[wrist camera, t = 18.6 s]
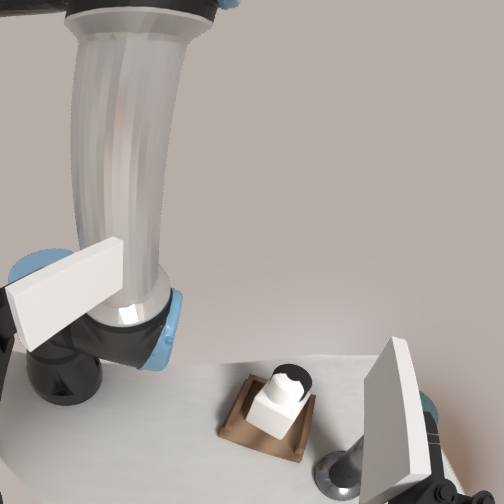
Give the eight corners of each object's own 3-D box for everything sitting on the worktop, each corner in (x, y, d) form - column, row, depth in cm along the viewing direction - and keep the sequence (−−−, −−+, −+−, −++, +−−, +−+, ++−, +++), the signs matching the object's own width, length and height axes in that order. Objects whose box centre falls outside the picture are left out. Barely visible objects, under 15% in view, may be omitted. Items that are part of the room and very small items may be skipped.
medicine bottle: (264, 396, 46) (283, 352, 42) (297, 414, 43) (323, 372, 39) (243, 420, 40) (261, 377, 36) (280, 441, 38) (306, 401, 33)
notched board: (217, 436, 37) (221, 426, 36) (244, 382, 50) (248, 371, 49) (299, 462, 35) (307, 454, 34) (311, 405, 48) (318, 394, 46)
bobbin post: (309, 495, 29) (381, 435, 21) (319, 448, 38) (378, 374, 30) (365, 503, 27) (449, 443, 19) (368, 458, 36) (436, 388, 29)
